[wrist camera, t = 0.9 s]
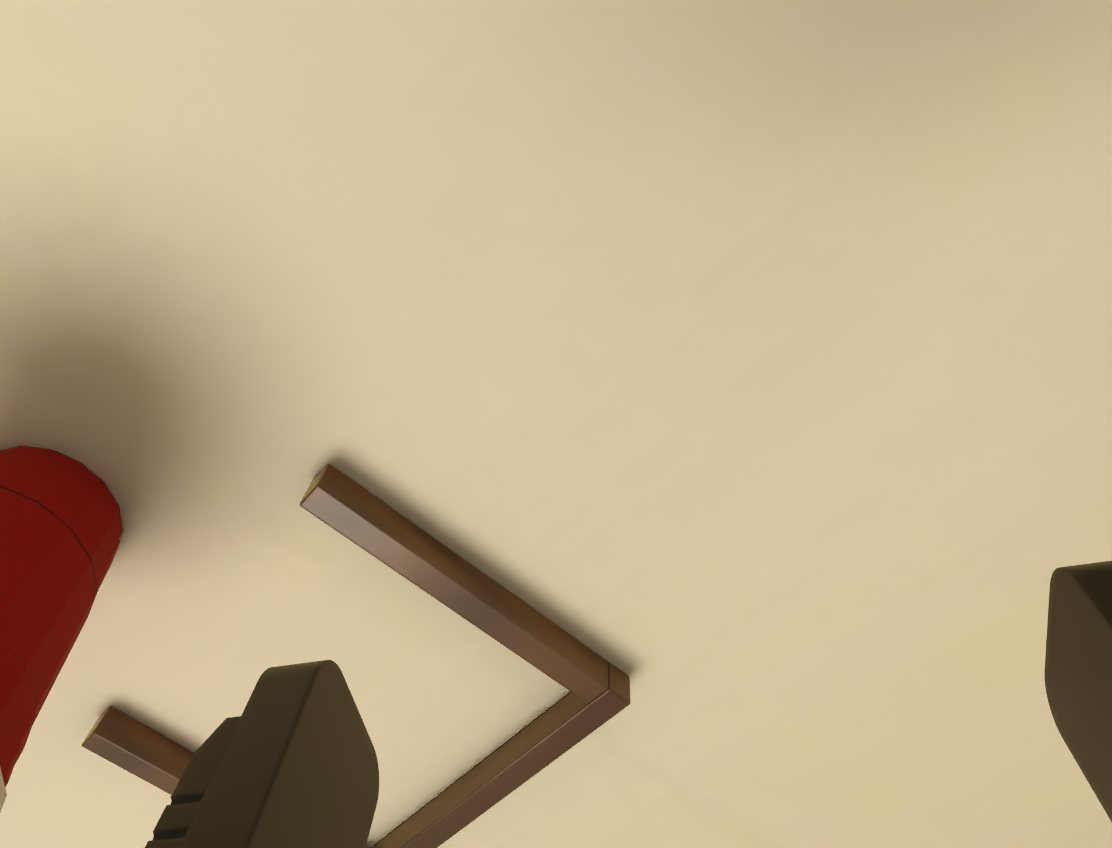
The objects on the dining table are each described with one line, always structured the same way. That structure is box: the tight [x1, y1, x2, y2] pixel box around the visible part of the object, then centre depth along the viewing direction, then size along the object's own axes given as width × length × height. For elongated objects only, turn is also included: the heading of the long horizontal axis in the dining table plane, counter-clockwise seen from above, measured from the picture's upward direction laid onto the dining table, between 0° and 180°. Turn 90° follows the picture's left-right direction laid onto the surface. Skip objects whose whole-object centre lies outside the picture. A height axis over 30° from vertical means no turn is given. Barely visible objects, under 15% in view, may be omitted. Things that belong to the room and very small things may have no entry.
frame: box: [82, 464, 630, 848], centre depth 37 cm, size 15×18×2 cm
